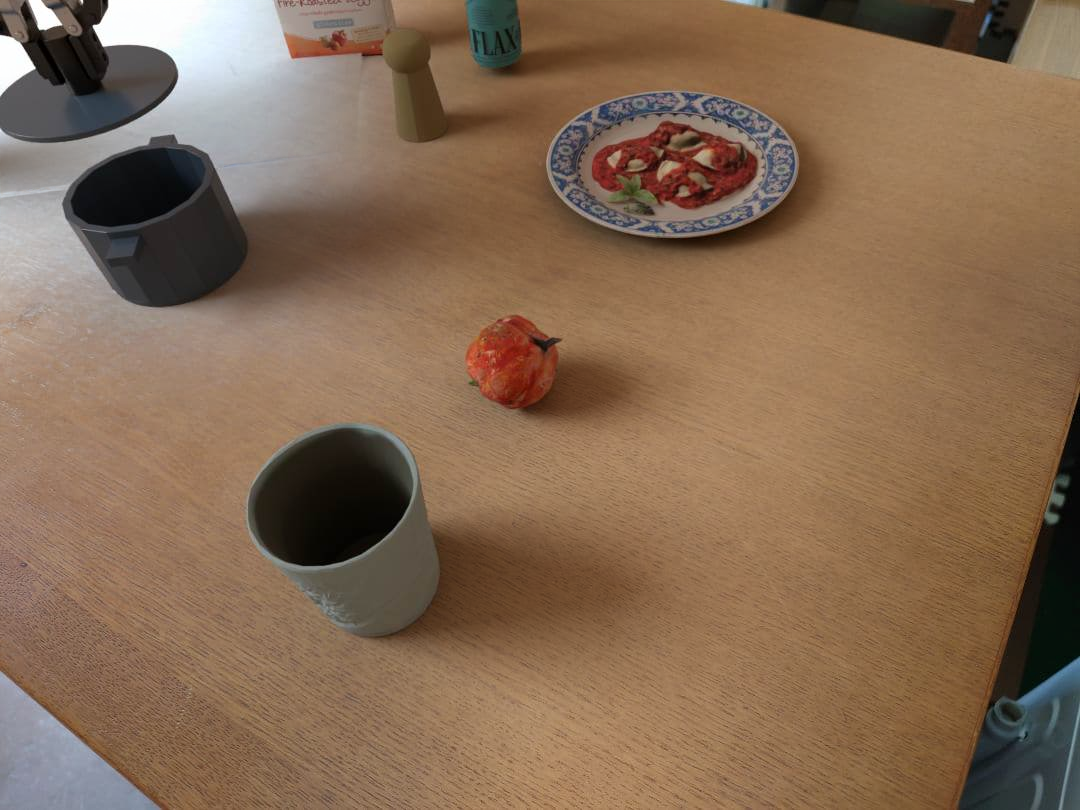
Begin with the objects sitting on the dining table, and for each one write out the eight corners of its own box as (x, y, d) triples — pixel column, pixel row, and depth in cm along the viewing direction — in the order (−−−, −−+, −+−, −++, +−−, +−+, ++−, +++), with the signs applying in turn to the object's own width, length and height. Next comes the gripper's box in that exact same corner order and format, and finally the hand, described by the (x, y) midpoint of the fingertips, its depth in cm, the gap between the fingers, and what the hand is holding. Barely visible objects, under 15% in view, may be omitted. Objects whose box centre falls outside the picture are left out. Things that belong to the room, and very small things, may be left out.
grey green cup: (458, 519, 57) (428, 420, 48) (442, 654, 51) (404, 569, 42) (324, 520, 58) (269, 422, 49) (291, 652, 52) (222, 569, 42)
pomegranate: (477, 440, 64) (566, 412, 58) (419, 377, 62) (506, 340, 55) (512, 382, 69) (597, 350, 63) (460, 321, 66) (544, 281, 60)
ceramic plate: (676, 83, 93) (678, 59, 91) (849, 179, 79) (856, 153, 77) (500, 168, 85) (497, 144, 82) (659, 292, 71) (661, 267, 69)
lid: (-25, 160, 61) (-75, 92, 56) (32, 67, 70) (-7, 2, 65) (163, 136, 61) (128, 66, 56) (195, 47, 70) (167, -19, 66)
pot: (89, 335, 73) (34, 261, 66) (134, 211, 85) (91, 137, 78) (234, 316, 73) (195, 240, 66) (258, 195, 85) (227, 120, 78)
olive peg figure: (411, 110, 94) (391, 18, 85) (456, 117, 92) (441, 24, 83) (387, 137, 90) (364, 44, 82) (434, 145, 89) (415, 51, 80)
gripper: (63, -204, 53) (174, 46, 66) (-143, -180, 53) (10, 66, 66) (30, -171, 48) (156, 91, 62) (-196, -144, 48) (-20, 113, 61)
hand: (80, 77), depth 64 cm, fingers closed on lid, 2 cm apart
